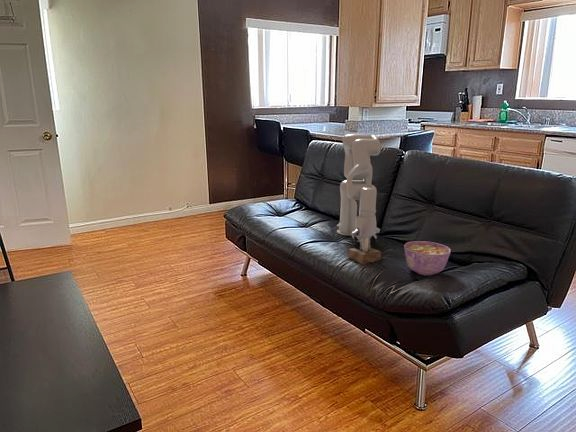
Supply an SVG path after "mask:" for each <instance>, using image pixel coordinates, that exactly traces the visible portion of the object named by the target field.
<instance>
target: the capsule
mask: <svg viewBox="0 0 576 432" xmlns="http://www.w3.org/2000/svg"><path fill="white" fill-rule="evenodd" d="M368 239H369V237H363V240H362V252H368Z"/></svg>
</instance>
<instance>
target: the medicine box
mask: <svg viewBox="0 0 576 432" xmlns="http://www.w3.org/2000/svg"><path fill="white" fill-rule="evenodd" d="M358 238H359V237H358ZM370 238H372V237H371V236H369V239H368V247H370V248H371V246H370ZM362 240H363V238H361V240H360V241H359V242H360V247H361V246H362Z"/></svg>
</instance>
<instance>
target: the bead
mask: <svg viewBox="0 0 576 432" xmlns="http://www.w3.org/2000/svg"><path fill="white" fill-rule="evenodd" d="M347 257H349V258H348V259H350V258H351V259H350V260H352V259H353V260H352V261H354V260H355V262H357V263H359V262H360V263H359V264H361V263H362V264H361V265H366V264H365V263H368V262H372V261H377V260H381V257H382V251H380V250H378V249H375V248H374V247H371V246H370V247H368V252H362V246H360V250H357V249H355V247H353V248H349V249H348V255H347ZM377 262H378V261H377ZM372 263H373V262H372ZM368 264H369V263H368Z"/></svg>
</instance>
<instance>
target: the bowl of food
mask: <svg viewBox="0 0 576 432" xmlns="http://www.w3.org/2000/svg"><path fill="white" fill-rule="evenodd" d="M403 247H404V253H405V254H404V255H405V259H406V264H407V266H408V268H410V269H411V270H412V271H413V272H415V273H416V274H419V275H422V276H433V275H436V274H439V273H441V272H442V271H443V270H444V269H445V267H446V265H447V262H448V261H449V257H450V255H451V252H452V251H451V248H450V247H449V246H447V245H444V244H443V243H437V242H432V241H425V240H424V241H422V240H415V241H414V240H413V241H407V242H406V243H405V244H404V245H403Z"/></svg>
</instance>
